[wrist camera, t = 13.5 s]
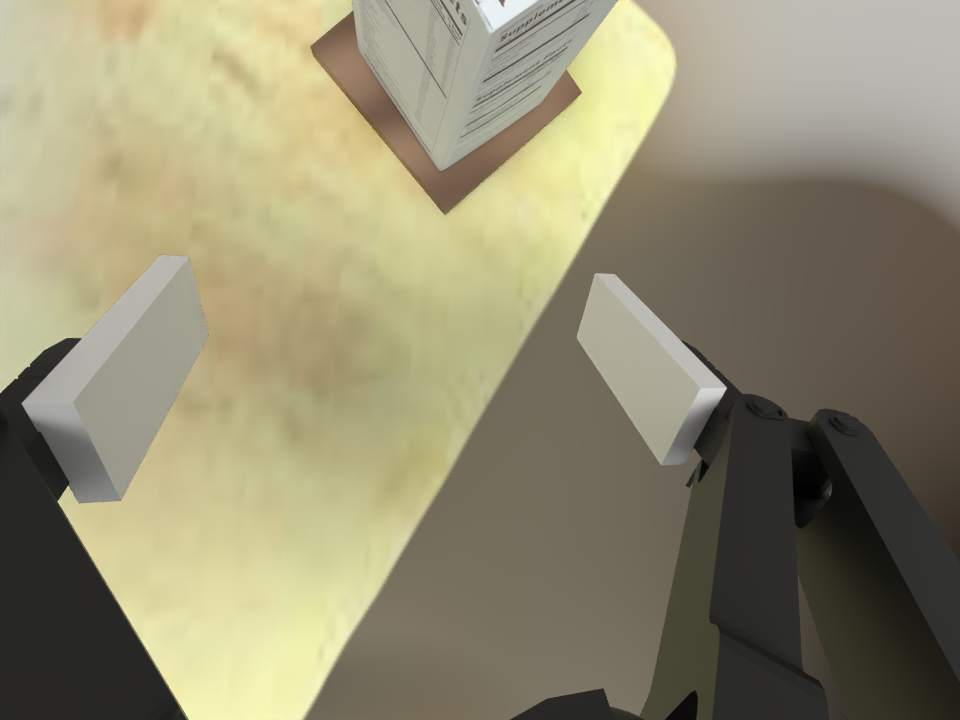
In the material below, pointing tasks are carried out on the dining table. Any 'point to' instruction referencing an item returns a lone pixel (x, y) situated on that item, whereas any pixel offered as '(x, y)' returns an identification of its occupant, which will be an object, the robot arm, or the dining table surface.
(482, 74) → the supplement box
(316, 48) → the walnut board
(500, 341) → the dining table surface
